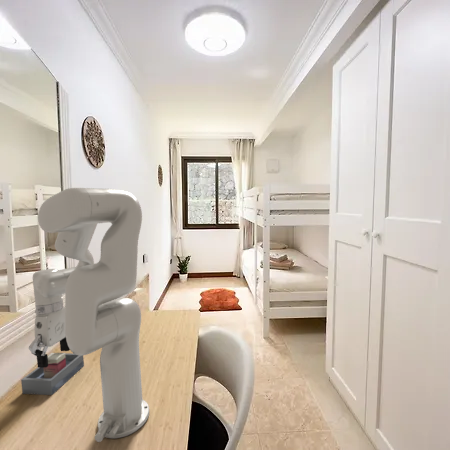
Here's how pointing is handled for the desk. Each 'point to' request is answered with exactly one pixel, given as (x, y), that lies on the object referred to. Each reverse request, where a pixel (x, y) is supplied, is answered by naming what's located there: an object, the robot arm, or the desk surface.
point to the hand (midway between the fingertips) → (54, 358)
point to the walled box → (49, 386)
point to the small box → (54, 364)
